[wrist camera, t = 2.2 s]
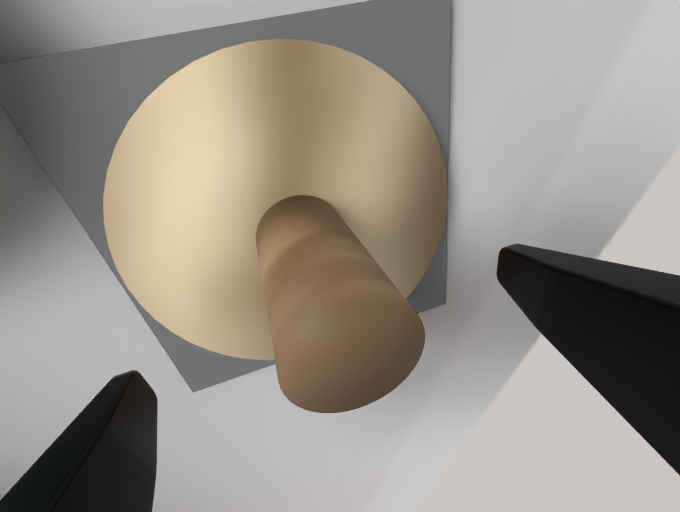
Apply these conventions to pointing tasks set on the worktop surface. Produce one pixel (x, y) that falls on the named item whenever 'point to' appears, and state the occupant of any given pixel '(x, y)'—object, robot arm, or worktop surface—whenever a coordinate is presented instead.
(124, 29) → the worktop surface
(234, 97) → the lid
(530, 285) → the robot arm
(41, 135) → the mat
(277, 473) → the worktop surface
